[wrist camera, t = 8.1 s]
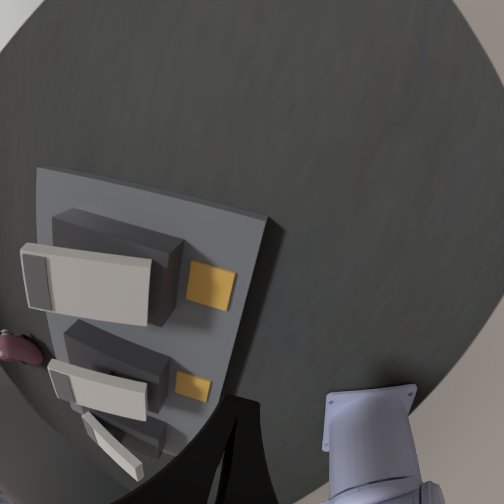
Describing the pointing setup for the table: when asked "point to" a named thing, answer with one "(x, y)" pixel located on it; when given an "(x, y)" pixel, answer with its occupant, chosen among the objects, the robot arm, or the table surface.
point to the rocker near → (87, 283)
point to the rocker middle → (99, 390)
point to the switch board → (190, 319)
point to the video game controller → (19, 349)
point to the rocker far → (113, 447)
